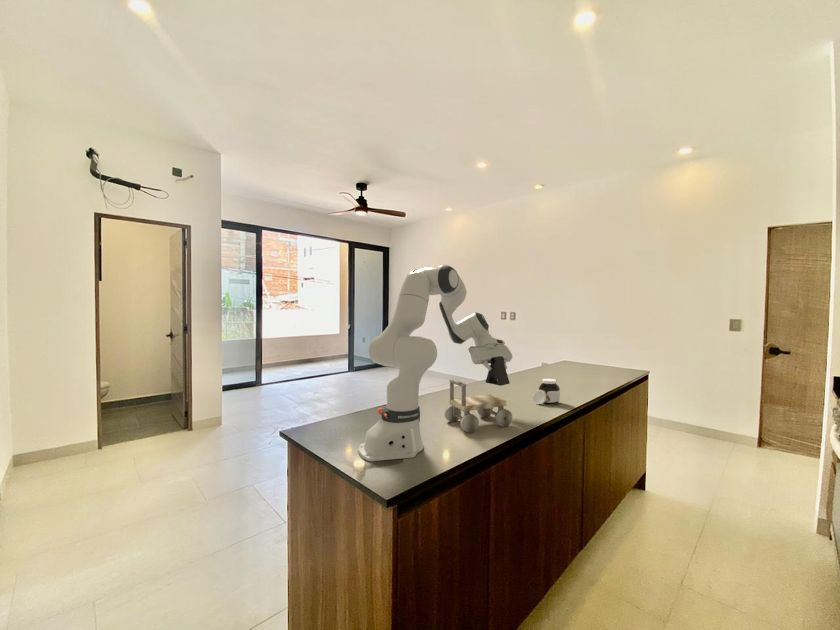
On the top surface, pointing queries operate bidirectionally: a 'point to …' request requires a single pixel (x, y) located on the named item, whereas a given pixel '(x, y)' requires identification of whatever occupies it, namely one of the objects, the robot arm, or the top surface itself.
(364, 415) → the top surface
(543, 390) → the spread jar
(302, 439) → the top surface
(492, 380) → the door stopper
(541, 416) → the top surface
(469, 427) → the wheeled trolley
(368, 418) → the top surface
